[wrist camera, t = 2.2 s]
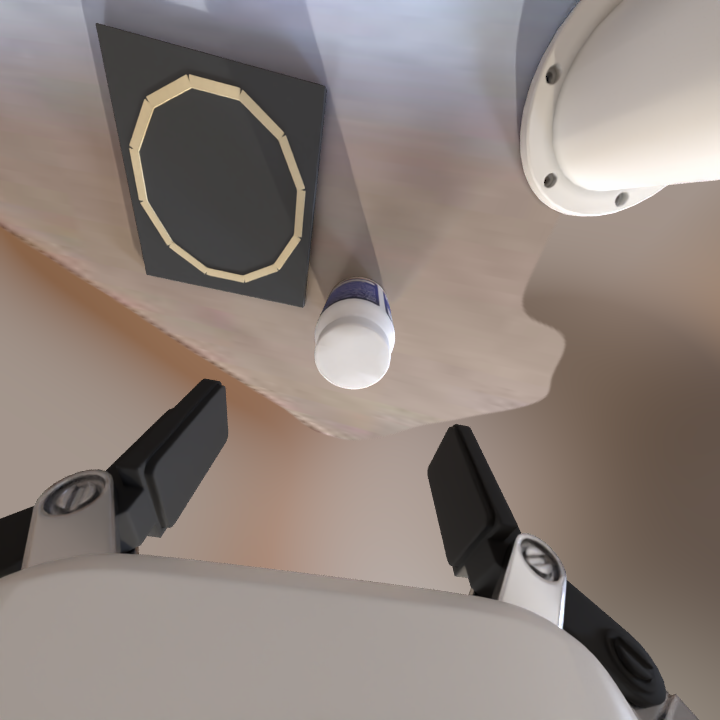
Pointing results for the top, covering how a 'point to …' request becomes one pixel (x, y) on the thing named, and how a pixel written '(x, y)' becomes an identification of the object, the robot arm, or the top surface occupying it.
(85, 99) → the top surface
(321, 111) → the board
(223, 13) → the top surface
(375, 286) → the pill bottle
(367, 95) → the top surface
